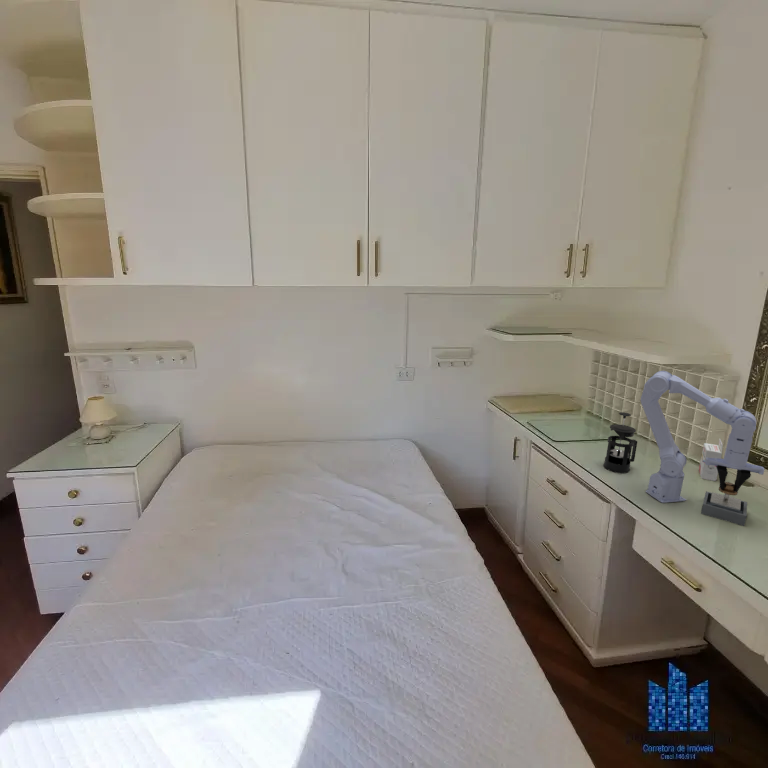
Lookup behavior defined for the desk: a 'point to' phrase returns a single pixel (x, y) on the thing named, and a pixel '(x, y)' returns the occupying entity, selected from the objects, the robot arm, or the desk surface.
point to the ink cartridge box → (710, 452)
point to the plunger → (726, 497)
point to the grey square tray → (724, 511)
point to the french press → (619, 455)
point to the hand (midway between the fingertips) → (728, 489)
